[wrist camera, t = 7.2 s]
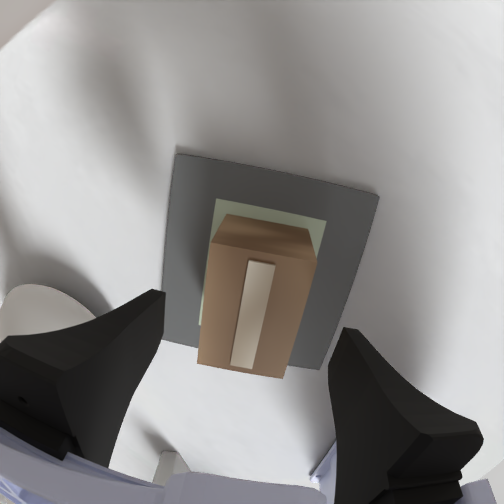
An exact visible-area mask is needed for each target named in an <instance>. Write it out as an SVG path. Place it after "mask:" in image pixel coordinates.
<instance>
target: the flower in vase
mask: <svg viewBox="0 0 504 504" xmlns="http://www.w3.org/2000/svg"><path fill="white" fill-rule="evenodd" d="M95 318H96V317H95V316H94V315H93V314H92V313H91V312H90V311H89V310H88V309H87V308H86V307H84V306H83V305H82V304H81V303H79V302H78V301H76V300H75V299H74V298H72V297H70V296H69V295H67V294H65V293H63V292H61V291H59V290H57V289H55V288H51V287H48V286H43V285H37V284H23V285H19V286H17V287H15V288H13V289H12V290H11V291H10V292H9V293H8V294H7V296H6V298H5V300H4V302H3V304H2V306H1V309H0V343H1V342H2V341H3V340H4V339H5V338H6V337H7V336H8V335H30V334H39V333H46V332H51V331H56V330H60V329H64V328H68V327H72V326H75V325H79V324H82V323H84V322H87V321H90V320H93V319H95ZM0 504H7V500H6V497H5V496H3V495H2V494H1V493H0Z"/></svg>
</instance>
